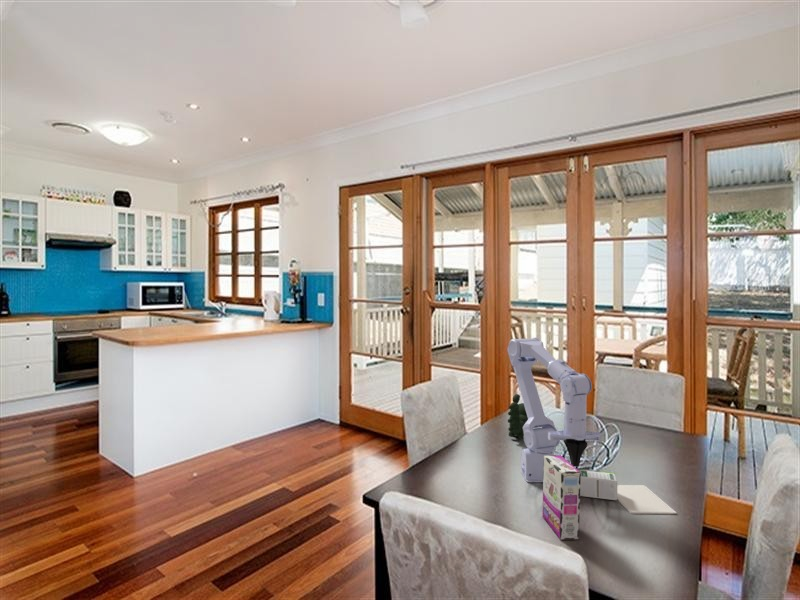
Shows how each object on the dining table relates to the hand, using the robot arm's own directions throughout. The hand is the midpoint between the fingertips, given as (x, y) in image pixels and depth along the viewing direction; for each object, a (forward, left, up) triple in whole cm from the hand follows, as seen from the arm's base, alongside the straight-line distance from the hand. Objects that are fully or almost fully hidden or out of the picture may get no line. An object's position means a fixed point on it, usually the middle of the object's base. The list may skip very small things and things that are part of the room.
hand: (574, 465), depth 127 cm
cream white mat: (+18, 0, -10) cm, 20 cm away
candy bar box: (-9, -15, -10) cm, 20 cm away
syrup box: (+12, +1, -6) cm, 14 cm away
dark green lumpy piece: (-1, +54, -10) cm, 55 cm away
